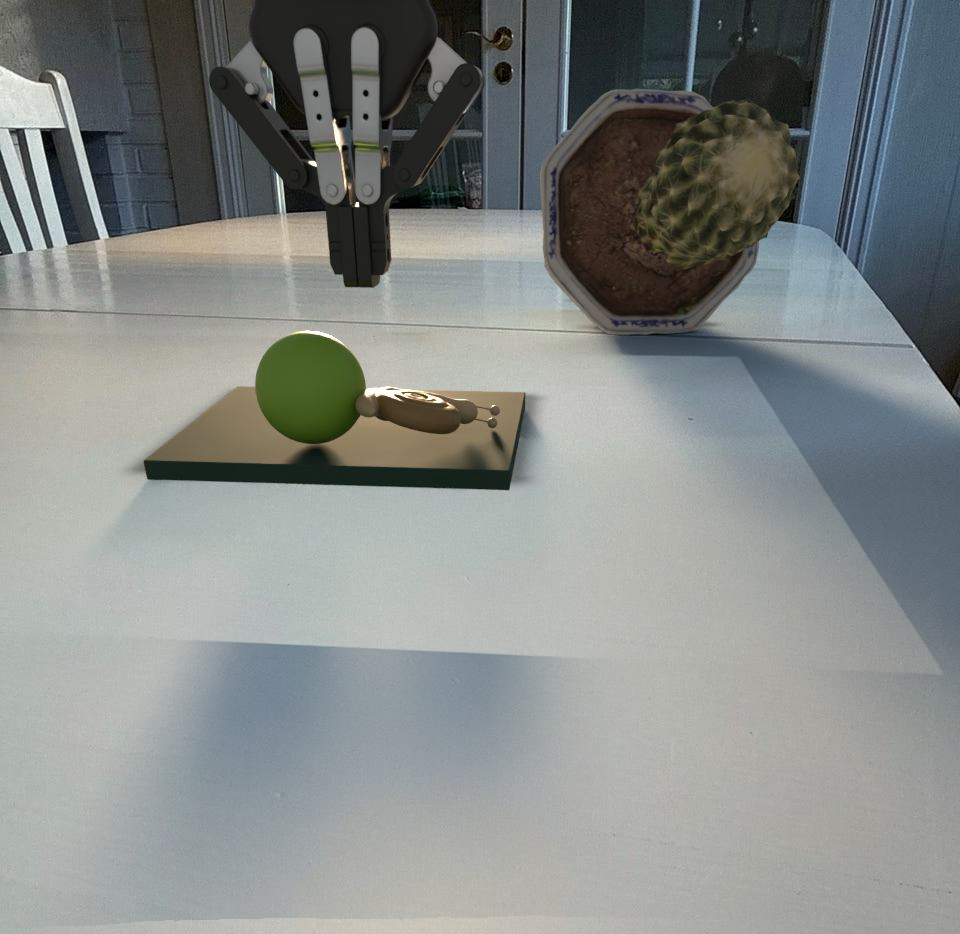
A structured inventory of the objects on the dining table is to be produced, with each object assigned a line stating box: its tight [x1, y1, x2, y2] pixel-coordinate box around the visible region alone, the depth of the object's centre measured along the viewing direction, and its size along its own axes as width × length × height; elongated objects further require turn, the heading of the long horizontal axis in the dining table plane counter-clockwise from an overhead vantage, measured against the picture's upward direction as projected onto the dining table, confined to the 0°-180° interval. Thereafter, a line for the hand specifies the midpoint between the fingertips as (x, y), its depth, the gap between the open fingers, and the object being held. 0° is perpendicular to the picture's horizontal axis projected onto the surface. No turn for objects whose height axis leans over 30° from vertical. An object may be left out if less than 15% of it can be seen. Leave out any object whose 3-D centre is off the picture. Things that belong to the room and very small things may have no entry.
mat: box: [143, 386, 527, 491], centre depth 49 cm, size 18×14×1 cm
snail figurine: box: [254, 330, 500, 444], centre depth 45 cm, size 5×6×12 cm
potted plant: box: [539, 88, 801, 336], centre depth 68 cm, size 18×18×30 cm
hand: (362, 284), depth 45 cm, fingers closed
